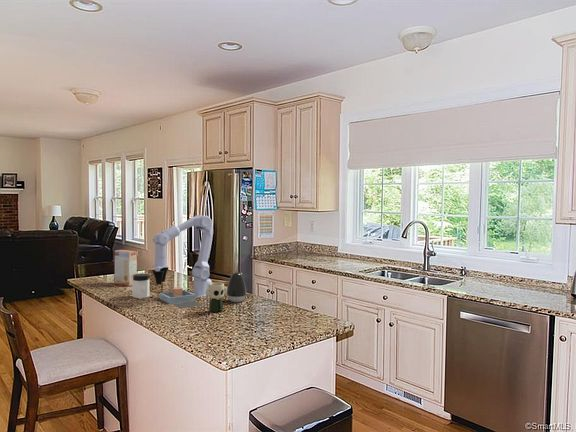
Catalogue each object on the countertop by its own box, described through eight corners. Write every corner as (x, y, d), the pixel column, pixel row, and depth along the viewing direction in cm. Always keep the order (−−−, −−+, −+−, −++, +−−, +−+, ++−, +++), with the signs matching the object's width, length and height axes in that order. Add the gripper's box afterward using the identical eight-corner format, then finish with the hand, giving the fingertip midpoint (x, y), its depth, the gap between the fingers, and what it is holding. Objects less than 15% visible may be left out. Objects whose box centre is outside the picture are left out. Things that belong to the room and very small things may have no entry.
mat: (194, 302, 220) (194, 301, 220) (203, 306, 212) (203, 305, 212) (172, 305, 213) (172, 304, 213) (180, 309, 205) (180, 308, 205)
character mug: (209, 314, 197) (209, 286, 197) (202, 311, 203) (202, 283, 203) (230, 311, 204) (230, 284, 203) (222, 307, 210) (223, 281, 209)
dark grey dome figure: (249, 300, 226) (250, 271, 226) (239, 304, 217) (240, 274, 216) (233, 298, 231) (233, 270, 230) (222, 302, 221) (223, 273, 221)
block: (179, 298, 226) (179, 287, 226) (182, 299, 223) (182, 288, 223) (172, 299, 224) (172, 287, 223) (175, 300, 220) (175, 289, 220)
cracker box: (137, 285, 261) (137, 250, 260) (128, 286, 256) (128, 251, 255) (122, 282, 268) (122, 249, 267) (114, 283, 263) (114, 250, 262)
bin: (184, 296, 233) (184, 289, 233) (195, 301, 222) (195, 294, 222) (159, 299, 225) (159, 292, 224) (169, 305, 213) (169, 298, 213)
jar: (134, 299, 224) (134, 276, 223) (130, 296, 231) (130, 274, 230) (151, 297, 229) (151, 275, 228) (147, 294, 236) (147, 272, 235)
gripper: (156, 254, 226) (156, 280, 227) (149, 258, 212) (149, 285, 213) (169, 254, 227) (169, 280, 227) (163, 258, 212) (163, 285, 213)
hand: (160, 282), depth 220 cm, fingers open, 7 cm apart
